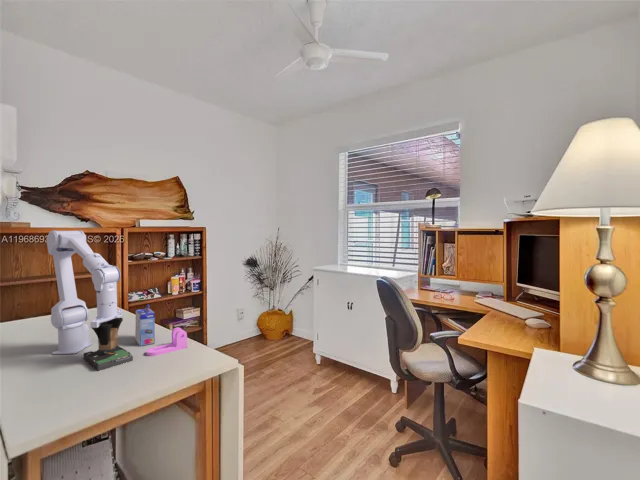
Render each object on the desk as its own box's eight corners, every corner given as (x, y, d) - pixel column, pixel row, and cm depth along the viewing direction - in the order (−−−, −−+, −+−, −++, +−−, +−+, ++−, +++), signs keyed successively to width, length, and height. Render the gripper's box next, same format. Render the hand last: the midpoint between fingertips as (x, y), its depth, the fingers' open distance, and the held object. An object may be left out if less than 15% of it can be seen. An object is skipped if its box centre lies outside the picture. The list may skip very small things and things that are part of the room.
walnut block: (105, 345, 108) (105, 328, 108) (118, 345, 108) (117, 327, 108) (98, 349, 104) (98, 332, 104) (111, 349, 104) (110, 331, 104)
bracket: (182, 344, 121) (181, 326, 121) (187, 348, 117) (186, 329, 117) (144, 353, 112) (144, 334, 112) (148, 357, 108) (148, 338, 108)
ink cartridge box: (156, 343, 122) (155, 306, 121) (139, 347, 118) (138, 309, 118) (150, 336, 129) (149, 302, 129) (135, 339, 126) (134, 304, 125)
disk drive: (82, 361, 107) (97, 372, 98) (82, 353, 107) (97, 364, 98) (116, 351, 115) (133, 361, 106) (116, 344, 115) (133, 353, 106)
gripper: (106, 307, 99) (107, 350, 99) (130, 297, 113) (131, 334, 114) (82, 308, 98) (84, 350, 99) (110, 298, 113) (111, 335, 113)
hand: (108, 342), depth 106 cm, fingers closed on walnut block, 4 cm apart
